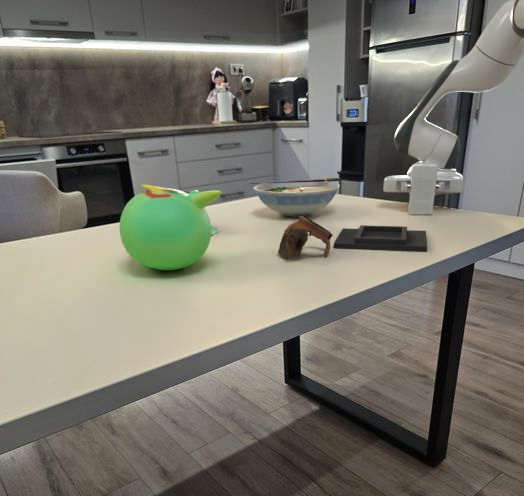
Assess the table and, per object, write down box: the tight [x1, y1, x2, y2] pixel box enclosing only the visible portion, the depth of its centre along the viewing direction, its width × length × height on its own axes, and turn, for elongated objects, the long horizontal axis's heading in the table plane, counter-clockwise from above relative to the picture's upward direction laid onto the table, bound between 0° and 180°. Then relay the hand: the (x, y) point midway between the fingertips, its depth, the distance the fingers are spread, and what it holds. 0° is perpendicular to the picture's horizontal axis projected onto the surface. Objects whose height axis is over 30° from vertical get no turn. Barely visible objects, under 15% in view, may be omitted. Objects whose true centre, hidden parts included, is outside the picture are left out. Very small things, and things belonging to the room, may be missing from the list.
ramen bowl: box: [249, 177, 342, 218], centre depth 128 cm, size 25×23×8 cm
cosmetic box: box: [407, 164, 438, 216], centre depth 123 cm, size 6×4×12 cm
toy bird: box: [119, 183, 222, 271], centre depth 85 cm, size 18×17×15 cm
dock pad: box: [333, 224, 428, 253], centre depth 100 cm, size 18×14×2 cm
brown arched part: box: [277, 216, 334, 260], centre depth 91 cm, size 12×10×8 cm
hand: (422, 188), depth 122 cm, fingers closed on cosmetic box, 6 cm apart
